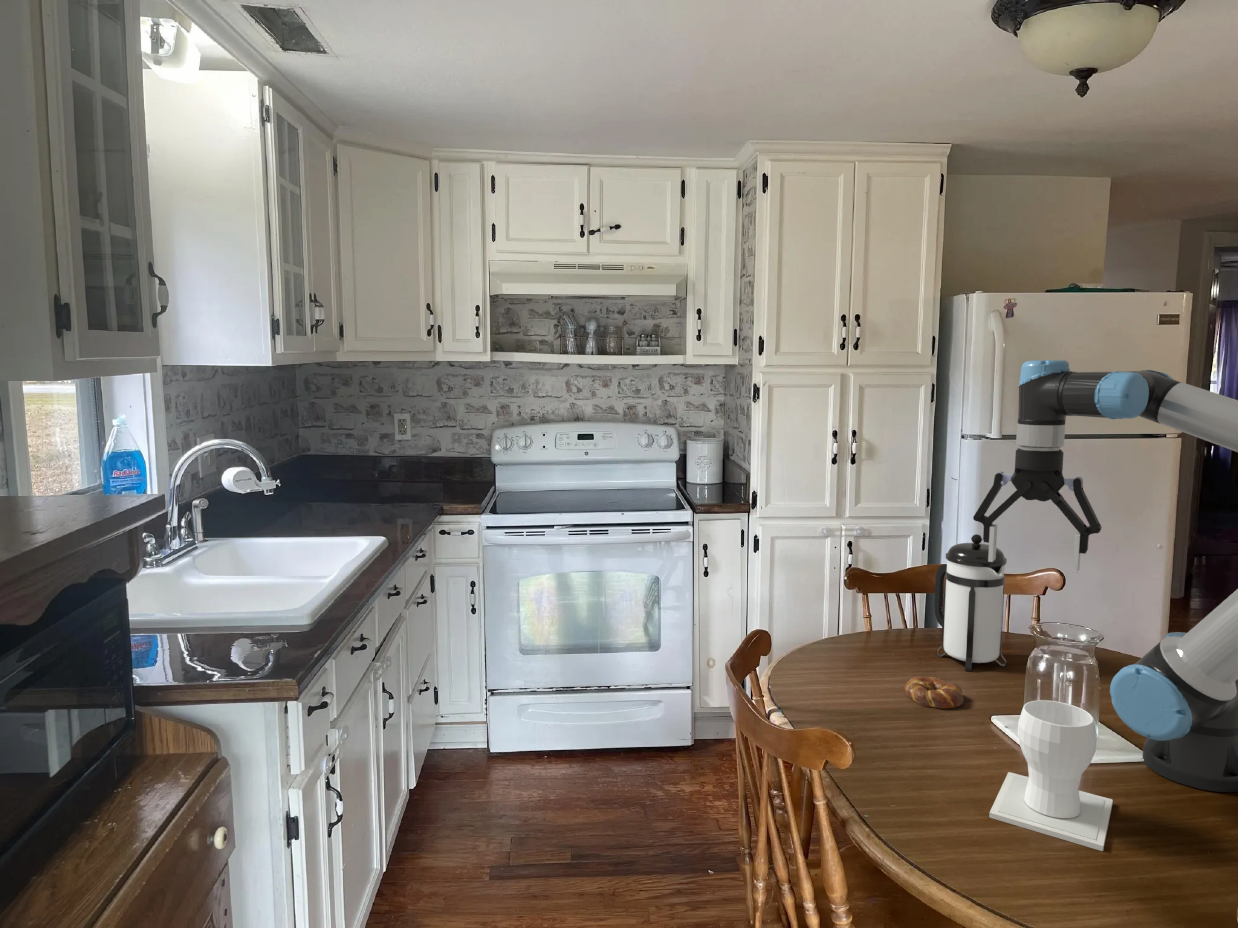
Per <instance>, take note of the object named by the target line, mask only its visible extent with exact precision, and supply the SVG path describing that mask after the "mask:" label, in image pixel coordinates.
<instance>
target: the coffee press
mask: <svg viewBox="0 0 1238 928" xmlns="http://www.w3.org/2000/svg"><path fill="white" fill-rule="evenodd" d="M970 539H971V542H963V543H961V542H960V543H957V544H954V545H953V546H951V547H950V548H949V549H948V551H947V552H946V553H945V560H946V563H945V564H941V565H940V566H939V567H938V569H937V571H936V573H935V575H936V576H935V582H934V583H935V585H934V604H933V605H934V607H933V608H934V617H935V619H936V620H937V623H938V624H939V625H940V627H941V628H942V641H941V642H942V644H941V646H940V647H939V648H938V649H937V650H936V656H937V657H938V658H943V657H944V656H945V655H948V656H950V657H952V658H953V659H956V660H959V661H963V662H965V664H964V665H965V666H964V670H965V671H966V672H972V670H973V663H976V664H981V663H982V664H983V663H984V664H985V663H990V662H991V663H992V662H995V663H997V665H998V666H1000V667H1006V665H1007V660H1006V658H1005V657H1004V655H1003V653H1002V646H1001V644H1002V643H1003V642H1002V640H1003V626H1002V625H1003V623H1004V622H1003V619H1004V618H1003V617H1004V608H1003V606H1004V603H1005V601H1004V599H1005V589H1004V587H1005V582H1006V580H1005V579H1006V575H1005V566H1006V565H1007V562H1008V559H1007V558H1006V557H1005V554H1004V553H1003V551H1002V550H1001V549H1000V548H998V547H996V559H995V560H994V561H993V562H989V561H988V554H989V544H985V543H982V541H983V537H982V536H981V535H980V534H977V533H976V534H973V535H972V536H971V538H970ZM942 648H943V650H944V653H942V654H939V653H938V652H939V651H941V649H942ZM999 656H1000V657H1001V659H1002V660H1003V662H1004V663H1001V662H1000V661H999V660H997V659H998V658H999Z"/></svg>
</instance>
